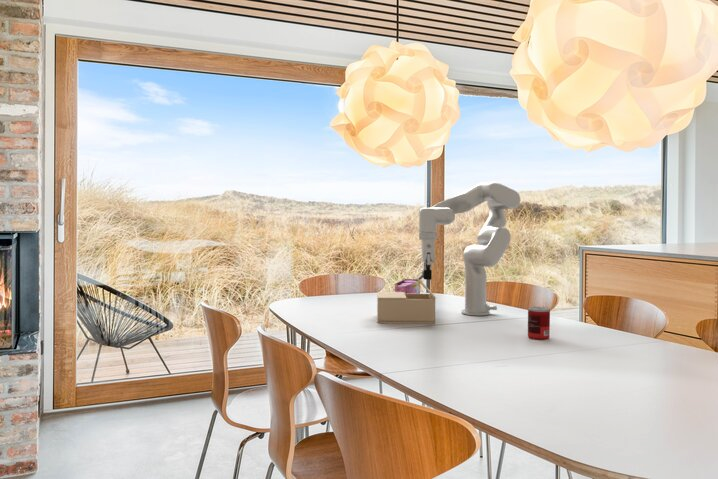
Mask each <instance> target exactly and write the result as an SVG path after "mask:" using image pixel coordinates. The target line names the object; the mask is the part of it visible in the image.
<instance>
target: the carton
mask: <svg viewBox="0 0 718 479" xmlns="http://www.w3.org/2000/svg"><path fill="white" fill-rule="evenodd" d="M376 294H377V299H376V300H377V301H376V302H377V304H376V306H377V307H376V308H377V311H376V313H377V314H376V315H377V324H436V299H435V298H434V297H433V296H432V295H431V294H430V293H420V294H405V293H404V292H395V291H377V293H376Z"/></svg>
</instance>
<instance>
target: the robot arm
mask: <svg viewBox="0 0 718 479" xmlns="http://www.w3.org/2000/svg"><path fill="white" fill-rule="evenodd" d="M485 202H487V205H488V206H487V207H488V212H489V213H488V214H489V215H488V217H487V219H486V221H485V223H484V224H483V226H482V227H481V229H480V230H479V232H478V234H477V237H476V241H477V244H471V245H470V244H469V245H468V246H466V247H465V249H464V251H463V253H462V258H463V262H464V263H463V264H464V272H465V274H464V276H465V277H464V278H465V281H464V283H465V284H464V288H465V289H464V291H465V292H464V309H461V314H462V315H468V316H476V317H477V316H481V317H483V316H488V315H490V314H491V313H490V311H497V310H498V306H497V305H489V304H488V303H487V279H488V278H487V271H486V269H485V267H487V268H492V267H495V266H496V265H497V264H498V263H499V262H500V260H501V258H502V257H503V255H504V254H505V252H506V250H507V248H508V247H509V245H510V242H511V237H512V236H511V233H510V230H509V229H508V228H506V227H505V226H506V224H507V217H506V214H505V210H513V209H517V207H519V206H520V204H521V196H520V194H519V192H518V191H516V190H514V189H513V188H510V187H508V186H506V185H504V184H502V183H498V182H496V181H488V182H486V181H485V182H479V183H477V184H476V185H474V186H472V187H470V188H468V189H467V190H465V191H463V192H461V193H460V194H457V195H455V196H452V197H450V198H447V199H444V200H442V201H440V202H438V203H435V205H433V206H431V207H421V208H420V209H419V212H418V214H419V215H418V216H419V220H418V227H419V228H418V240H419V241H421V261H422V263H423V270H424V277H423V278H422V279H423V280H428V281H431V280H433V279H432V276H433V274H432V272H433V271H432V264H434V263H436V258H435V257H436V252H435V250H436V246H435V241H436V240H437V235H438V233H437V231H438V226H437V225H442V226H445V225H448V226H449V225H450V224H452V223H453V222H454V221H455V220H456V219H455V218H456V215H457V214H458V215H459V214H463V213H467V212H470V211H472V210H473V209H474V208H476V207H478V206H480V205H481V204H483V203H485ZM423 270H422V271H423Z"/></svg>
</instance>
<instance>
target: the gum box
mask: <svg viewBox="0 0 718 479" xmlns="http://www.w3.org/2000/svg"><path fill="white" fill-rule="evenodd" d="M394 292H404V293H405V294H421V284H420V282H419V281H418V280H417V279H416V278H414V279H413V278H405V279H403V280H400V281H399V282H396V283H395V284H394Z"/></svg>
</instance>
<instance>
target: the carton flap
mask: <svg viewBox="0 0 718 479" xmlns="http://www.w3.org/2000/svg"><path fill="white" fill-rule="evenodd" d="M413 277H414V279H417V280H418V281H419V282H420V286H422V287H423V288H424V289H425V290H426V291H427V293H428V294H431V295H432V296H433V297H434V298H435V300H436V299H437V297H436V295H435V294H434V293H433V292H432V291H431V290H430V289H429V288H428V286H427V285H426V284H425V283H424V282H423V281H422V279H424V278H423V277H424V270H422V272H421V276H419V277H418V276H417V275H416V274H415V273H413Z"/></svg>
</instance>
